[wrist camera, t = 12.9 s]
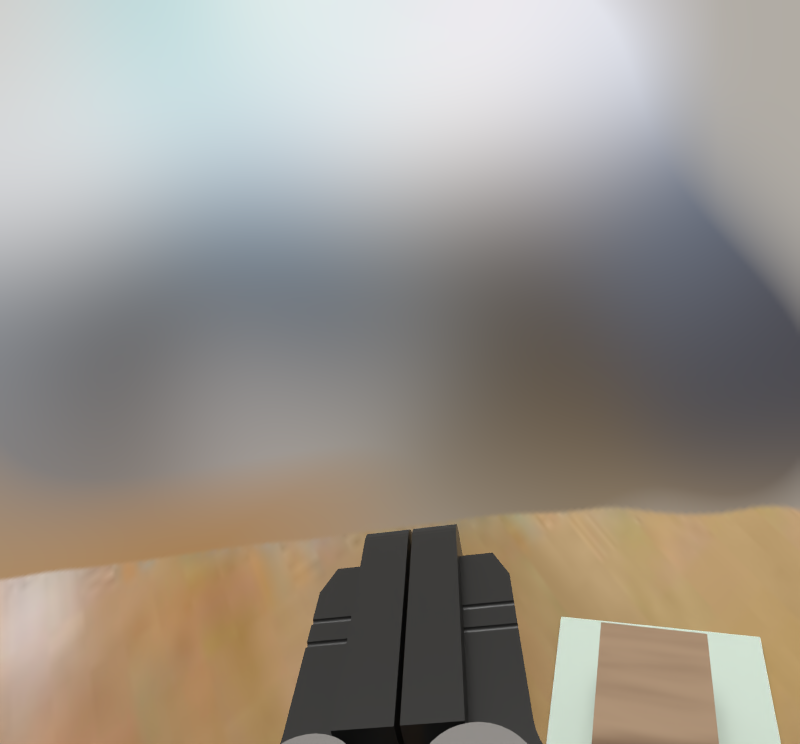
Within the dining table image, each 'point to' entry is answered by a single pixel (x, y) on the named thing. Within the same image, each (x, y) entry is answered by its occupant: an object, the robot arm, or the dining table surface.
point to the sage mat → (731, 676)
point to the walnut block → (653, 687)
